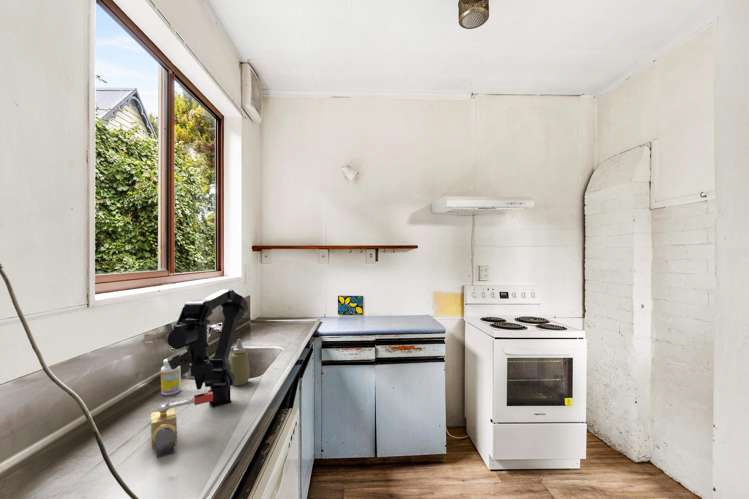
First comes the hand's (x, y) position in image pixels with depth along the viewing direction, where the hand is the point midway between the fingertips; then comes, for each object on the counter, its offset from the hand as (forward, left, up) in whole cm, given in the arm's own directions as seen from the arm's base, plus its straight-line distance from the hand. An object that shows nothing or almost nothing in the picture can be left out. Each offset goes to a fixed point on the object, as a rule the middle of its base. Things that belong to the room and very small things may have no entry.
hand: (198, 389), depth 111 cm
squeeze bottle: (-18, -25, -10) cm, 32 cm away
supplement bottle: (+6, -32, -10) cm, 34 cm away
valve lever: (+4, +7, -2) cm, 9 cm away
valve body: (+10, +7, -10) cm, 16 cm away
